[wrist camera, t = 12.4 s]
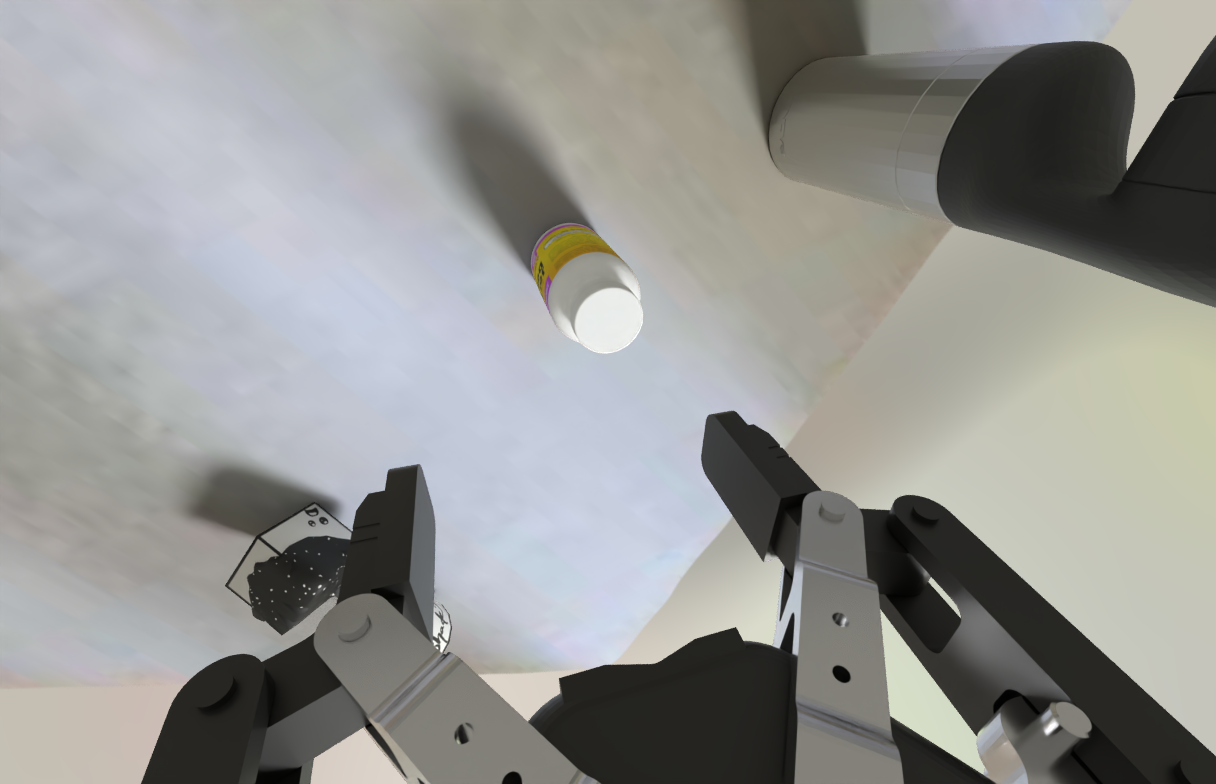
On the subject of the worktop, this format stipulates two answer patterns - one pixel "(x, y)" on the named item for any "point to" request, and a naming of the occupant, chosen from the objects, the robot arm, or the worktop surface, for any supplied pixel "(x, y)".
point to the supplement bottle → (587, 288)
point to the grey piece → (303, 571)
